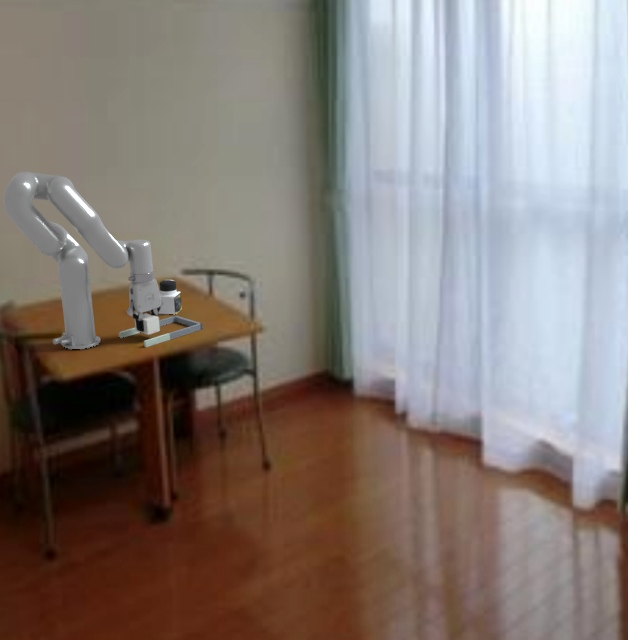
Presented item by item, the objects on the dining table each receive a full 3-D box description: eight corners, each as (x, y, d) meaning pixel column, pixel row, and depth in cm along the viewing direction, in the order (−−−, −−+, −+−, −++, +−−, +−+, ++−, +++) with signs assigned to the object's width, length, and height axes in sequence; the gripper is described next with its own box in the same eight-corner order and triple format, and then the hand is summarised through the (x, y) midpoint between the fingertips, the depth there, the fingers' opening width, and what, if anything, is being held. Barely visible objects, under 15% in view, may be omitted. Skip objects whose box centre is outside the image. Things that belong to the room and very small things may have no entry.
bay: (146, 347, 279) (145, 341, 278) (119, 337, 289) (118, 332, 288) (202, 329, 296) (202, 323, 295) (175, 320, 306) (175, 315, 305)
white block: (148, 334, 283) (146, 320, 282) (135, 330, 288) (134, 316, 286) (159, 331, 287) (158, 317, 285) (147, 327, 291) (146, 313, 290)
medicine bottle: (175, 315, 312) (173, 283, 309) (157, 314, 314) (155, 283, 310) (182, 309, 319) (180, 278, 315) (164, 308, 320) (162, 278, 317)
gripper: (127, 284, 273) (133, 337, 279) (169, 273, 285) (174, 324, 291) (114, 280, 278) (120, 332, 284) (156, 269, 290) (160, 320, 295)
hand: (147, 328), depth 287 cm, fingers closed on white block, 5 cm apart
